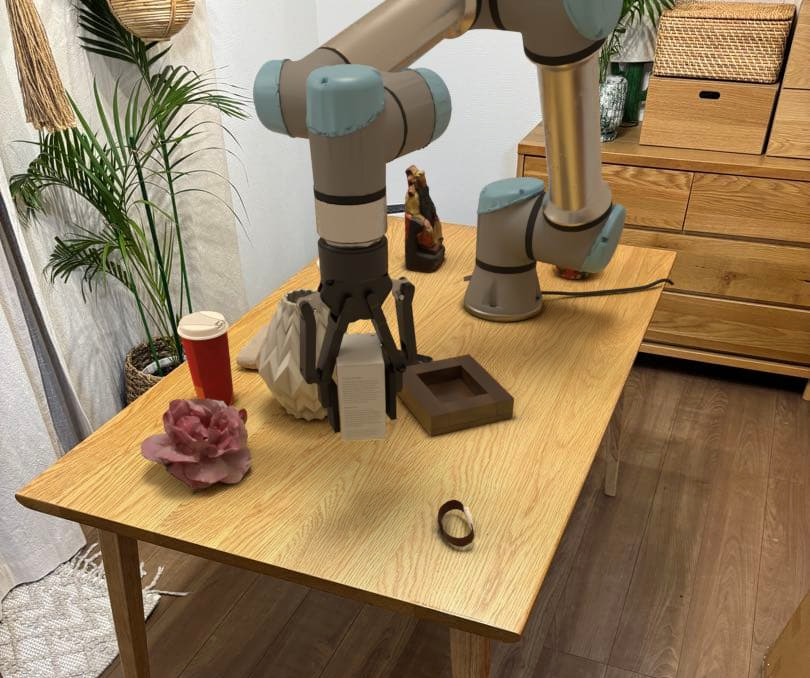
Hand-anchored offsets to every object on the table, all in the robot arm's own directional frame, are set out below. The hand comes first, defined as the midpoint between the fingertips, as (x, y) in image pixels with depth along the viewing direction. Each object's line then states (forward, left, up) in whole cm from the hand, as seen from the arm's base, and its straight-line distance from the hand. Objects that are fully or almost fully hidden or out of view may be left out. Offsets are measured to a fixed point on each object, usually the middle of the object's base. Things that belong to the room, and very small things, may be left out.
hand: (362, 420), depth 99 cm
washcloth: (-2, -47, -13) cm, 49 cm away
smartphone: (-17, -36, -13) cm, 42 cm away
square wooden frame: (-22, -20, -13) cm, 32 cm away
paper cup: (+13, -35, -13) cm, 39 cm away
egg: (-68, -59, -13) cm, 91 cm away
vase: (-1, -27, -13) cm, 30 cm away
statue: (-42, -76, -13) cm, 88 cm away
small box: (0, 0, -1) cm, 1 cm away
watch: (-9, +10, -13) cm, 19 cm away
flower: (+19, -17, -13) cm, 29 cm away
